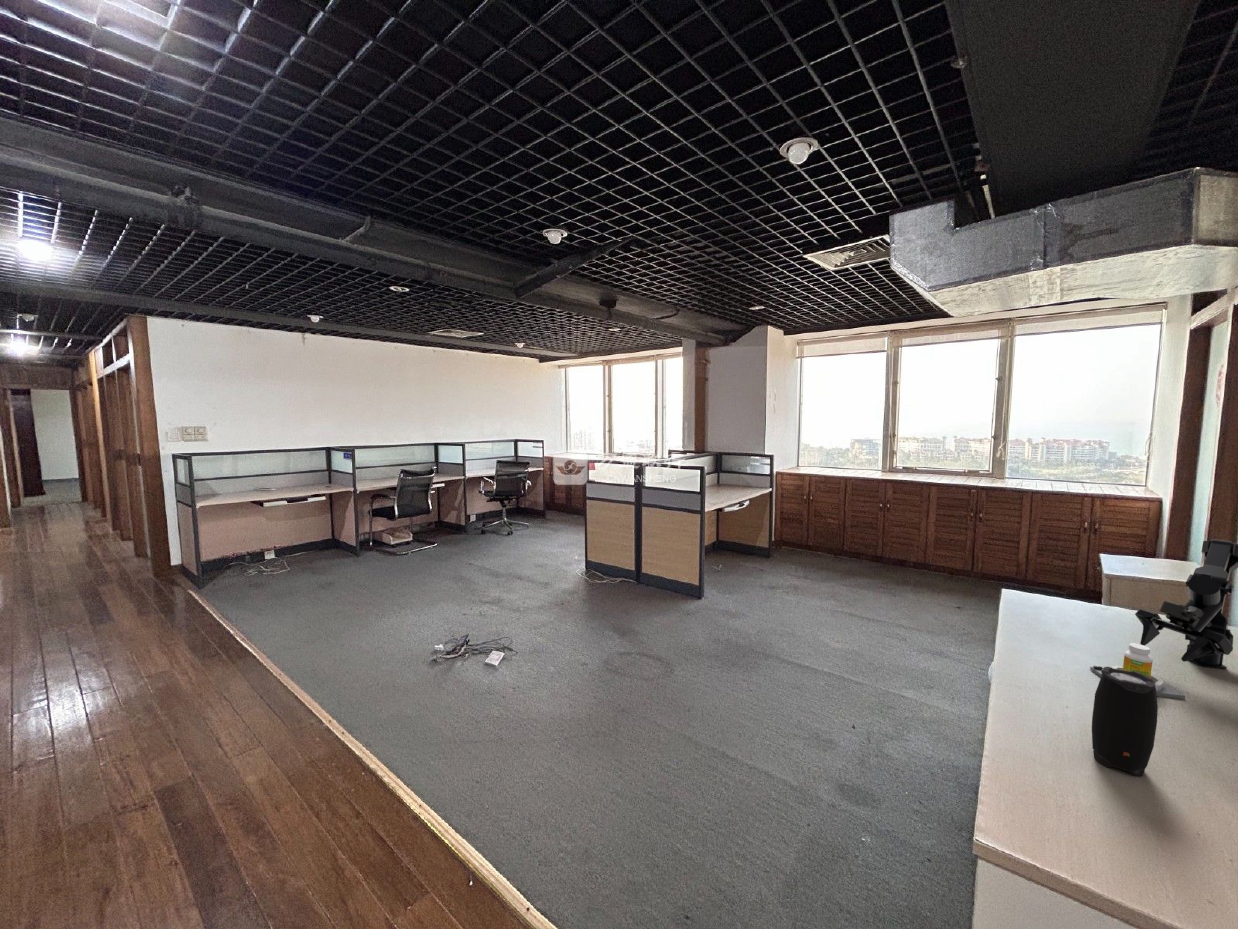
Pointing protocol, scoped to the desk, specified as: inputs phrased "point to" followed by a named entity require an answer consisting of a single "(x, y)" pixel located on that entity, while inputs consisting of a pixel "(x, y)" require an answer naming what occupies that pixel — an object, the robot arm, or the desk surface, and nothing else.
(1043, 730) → the desk surface
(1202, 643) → the robot arm
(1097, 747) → the portable speaker
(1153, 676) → the charging dock
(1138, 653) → the supplement bottle
